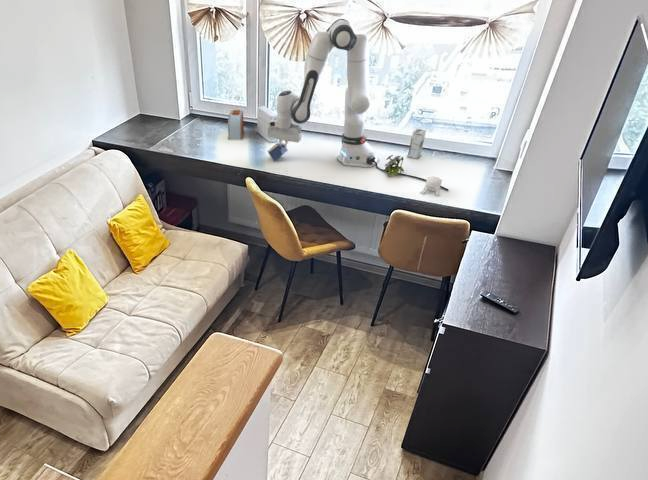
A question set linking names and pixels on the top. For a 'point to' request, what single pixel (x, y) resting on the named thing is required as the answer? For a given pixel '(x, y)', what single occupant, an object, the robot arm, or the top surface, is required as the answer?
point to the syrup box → (416, 143)
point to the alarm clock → (235, 124)
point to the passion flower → (394, 168)
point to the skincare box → (265, 121)
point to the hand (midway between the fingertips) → (283, 147)
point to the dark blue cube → (276, 151)
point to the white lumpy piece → (433, 184)
